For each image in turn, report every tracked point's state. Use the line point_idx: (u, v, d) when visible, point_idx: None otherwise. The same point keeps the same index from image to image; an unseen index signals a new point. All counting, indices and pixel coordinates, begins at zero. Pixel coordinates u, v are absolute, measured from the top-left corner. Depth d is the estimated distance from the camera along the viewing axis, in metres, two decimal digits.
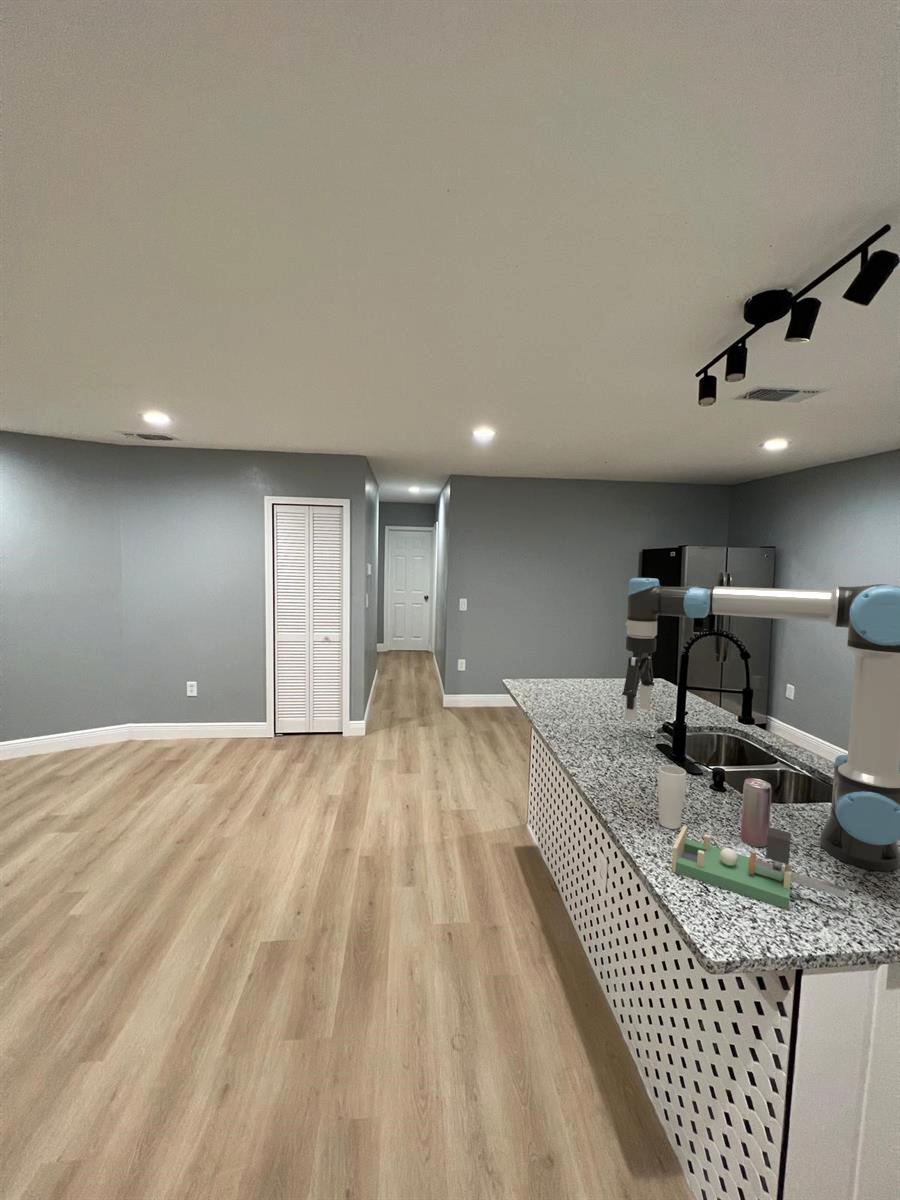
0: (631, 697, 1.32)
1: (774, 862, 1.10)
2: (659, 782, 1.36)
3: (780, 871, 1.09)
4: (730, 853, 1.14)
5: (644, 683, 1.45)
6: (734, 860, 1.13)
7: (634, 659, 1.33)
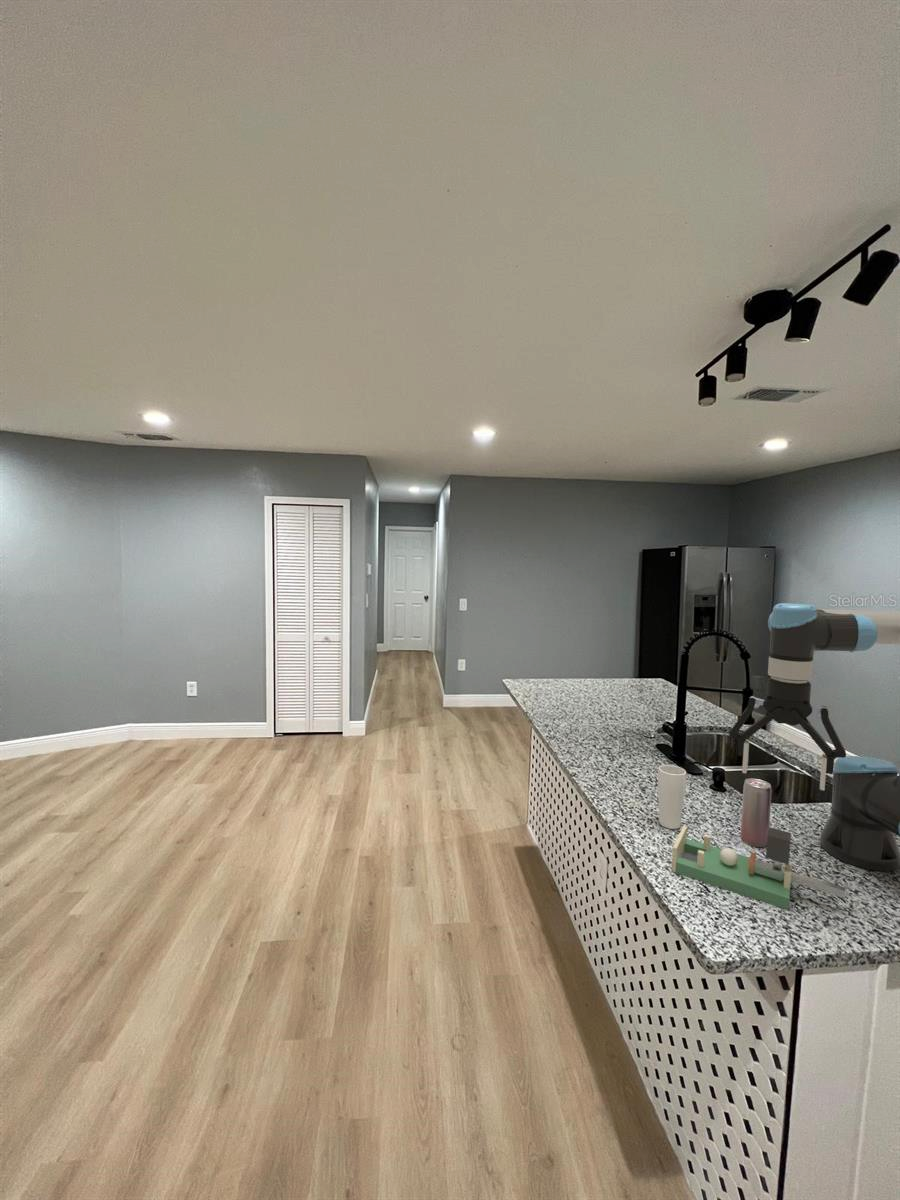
0: None
1: (774, 862, 1.10)
2: (659, 782, 1.36)
3: (780, 871, 1.09)
4: (730, 853, 1.14)
5: None
6: (734, 860, 1.13)
7: None
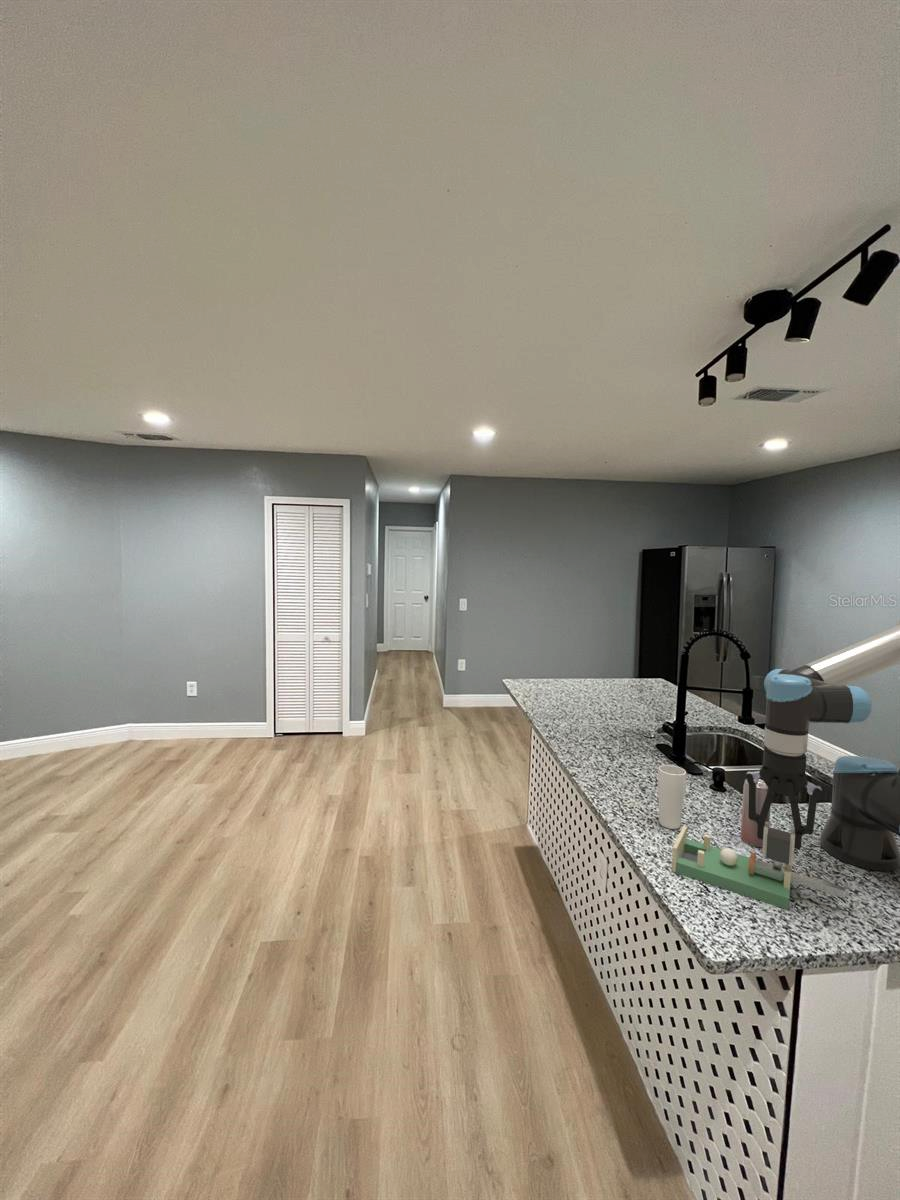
0: None
1: (774, 862, 1.10)
2: (659, 782, 1.36)
3: (780, 871, 1.09)
4: (730, 853, 1.14)
5: (795, 828, 1.08)
6: (734, 860, 1.13)
7: None
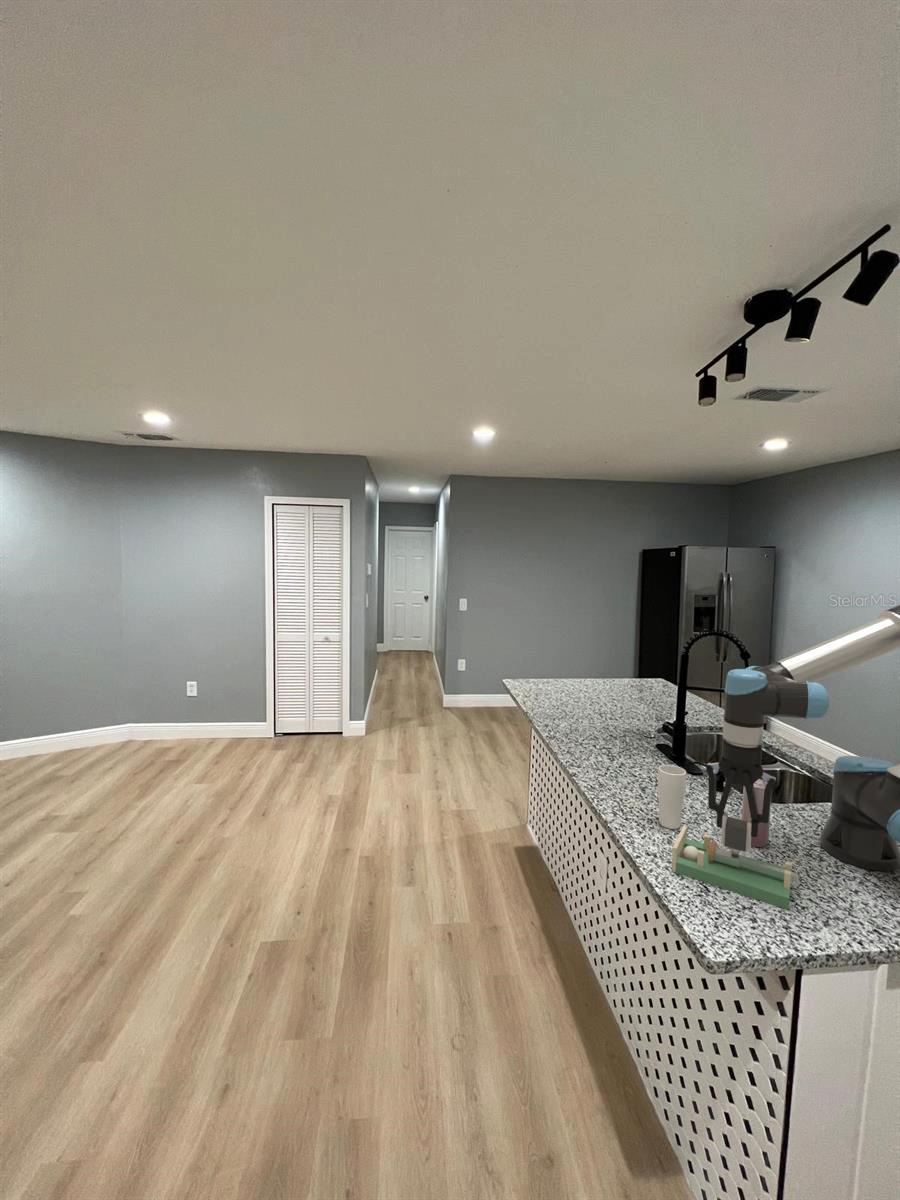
0: None
1: (732, 850, 1.14)
2: (659, 782, 1.36)
3: (737, 859, 1.13)
4: (696, 861, 1.18)
5: None
6: None
7: None
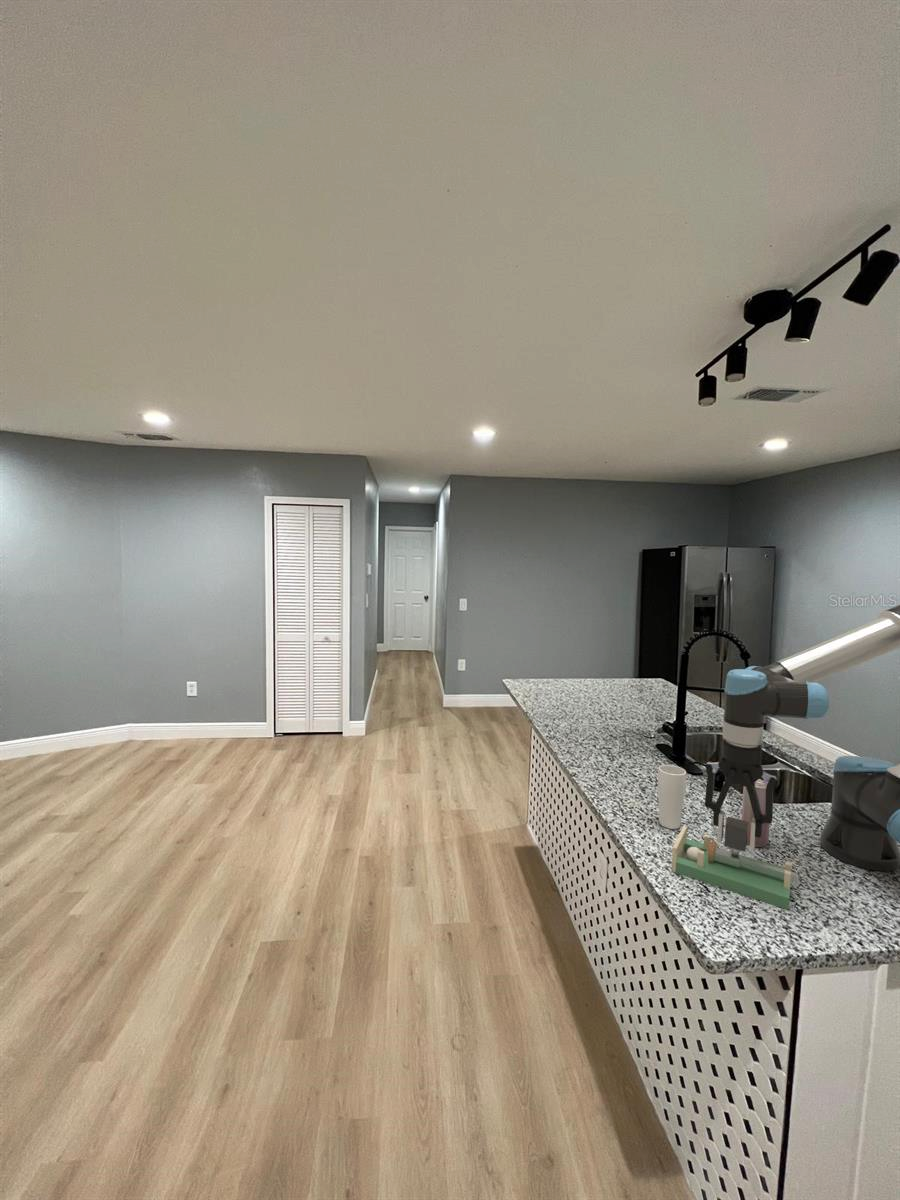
0: None
1: (732, 850, 1.14)
2: (659, 782, 1.36)
3: (737, 859, 1.13)
4: None
5: None
6: None
7: (706, 765, 1.16)
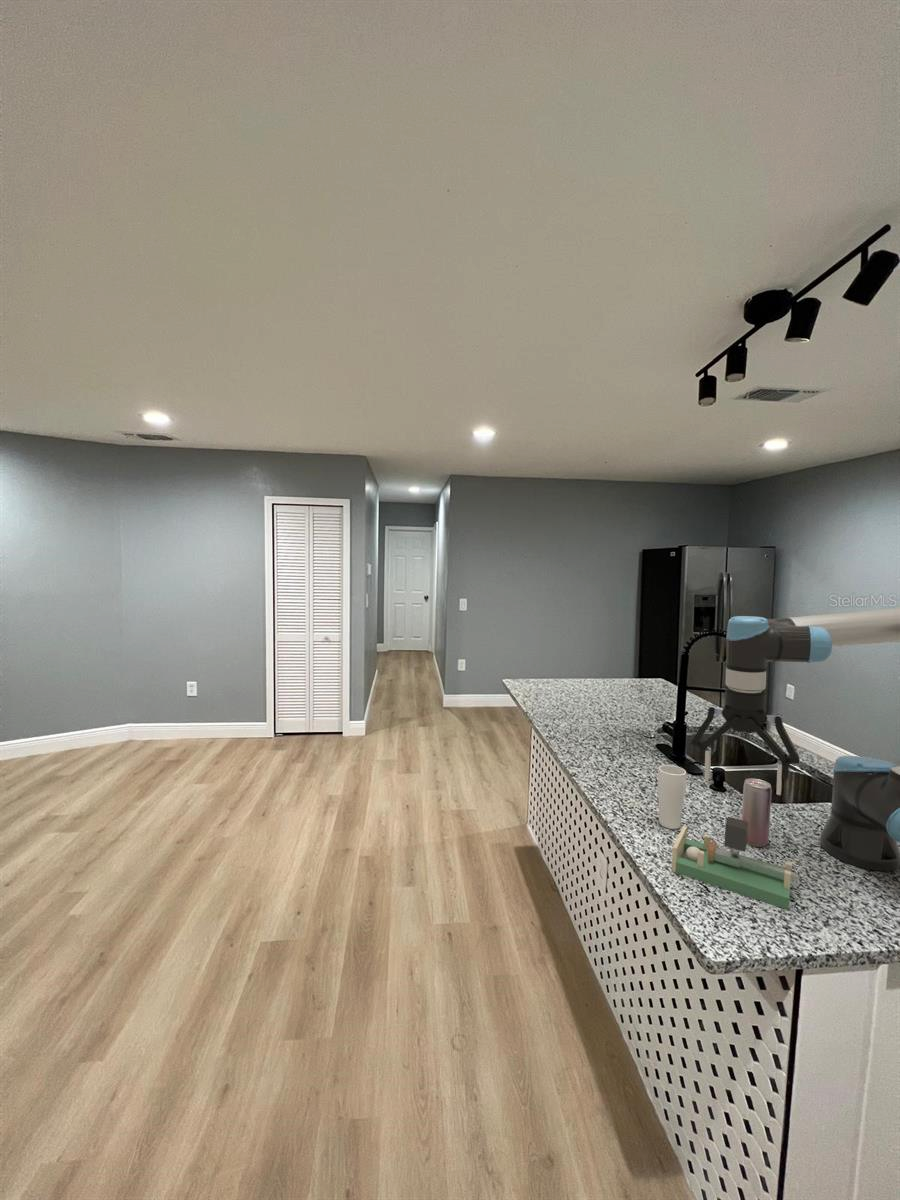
0: None
1: (732, 850, 1.14)
2: (659, 782, 1.36)
3: (737, 859, 1.13)
4: None
5: None
6: None
7: None
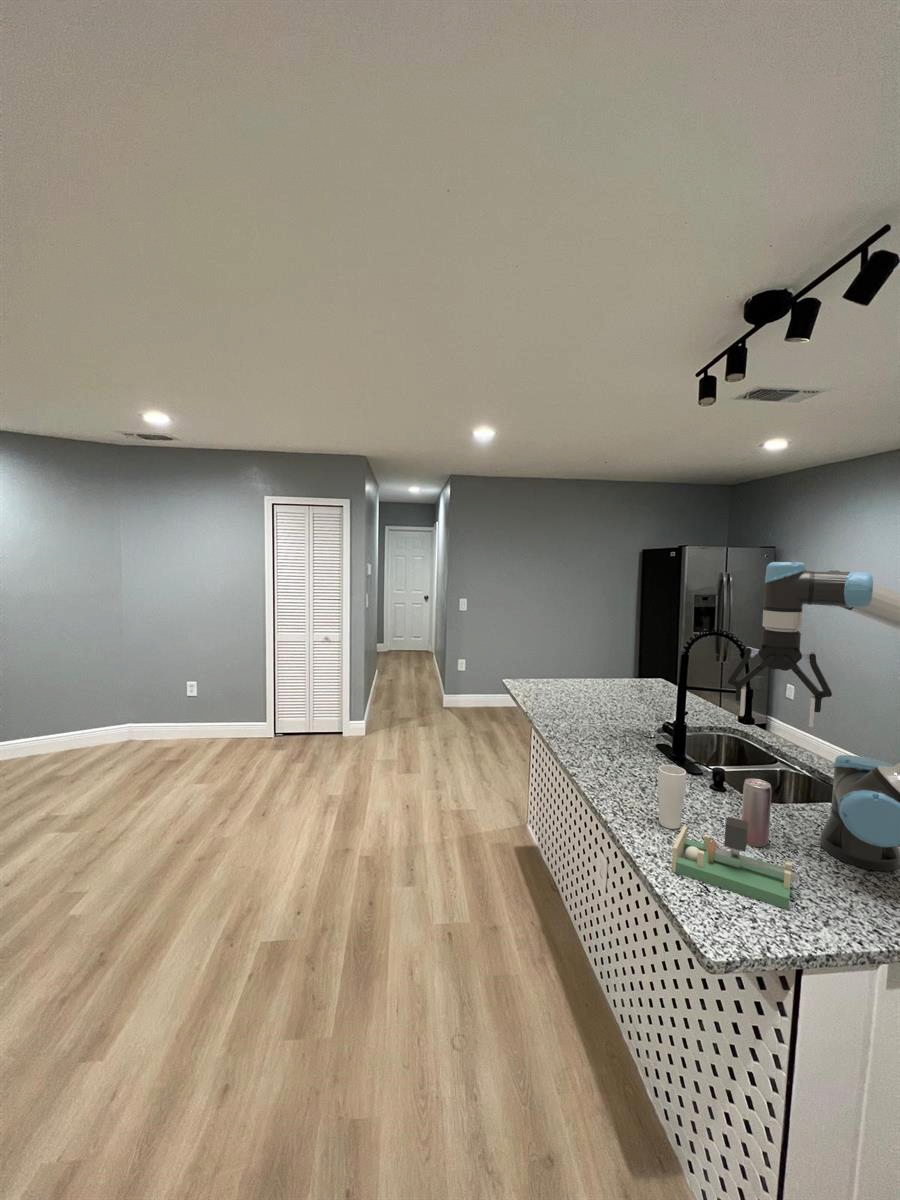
0: None
1: (732, 850, 1.14)
2: (659, 782, 1.36)
3: (737, 859, 1.13)
4: None
5: None
6: None
7: (746, 648, 1.23)
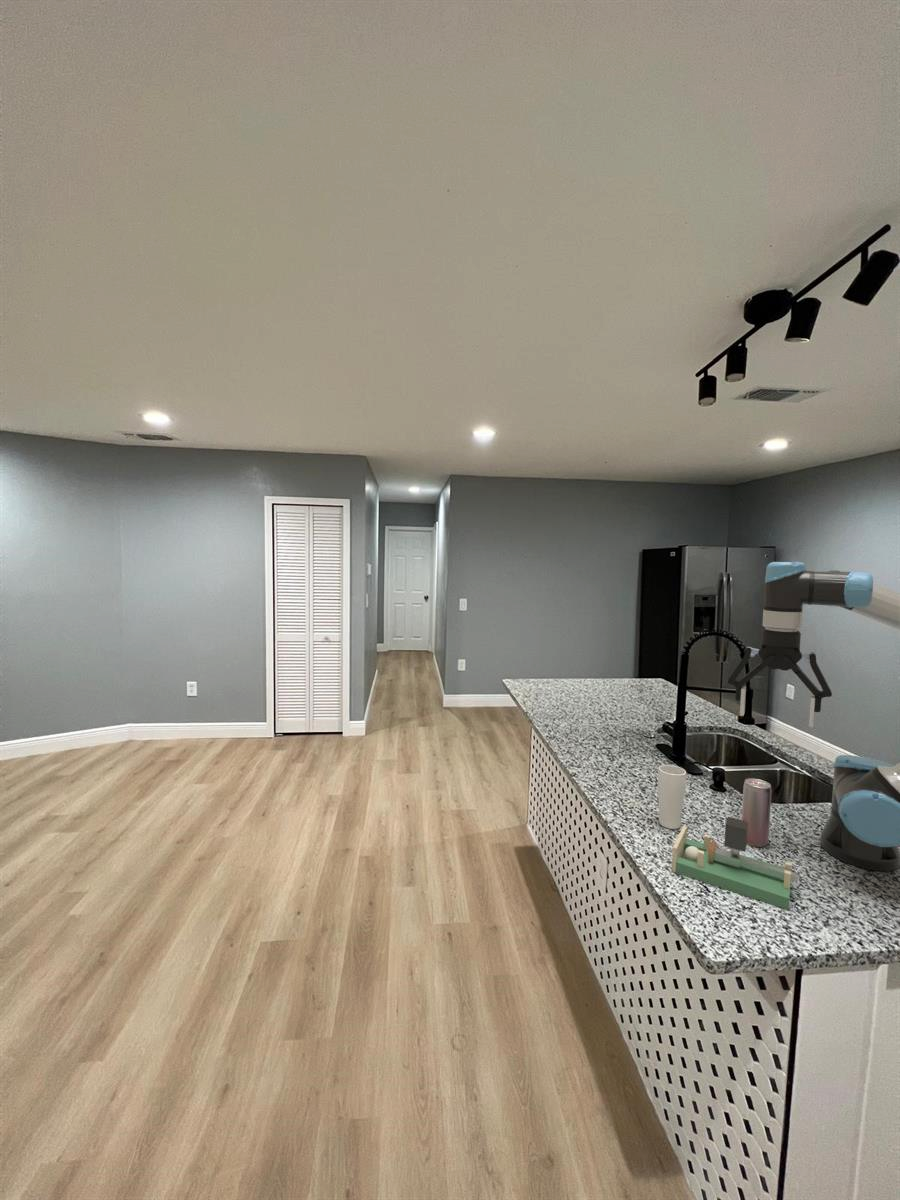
0: (735, 686, 1.25)
1: (732, 850, 1.14)
2: (659, 782, 1.36)
3: (737, 859, 1.13)
4: None
5: None
6: None
7: (746, 648, 1.23)
